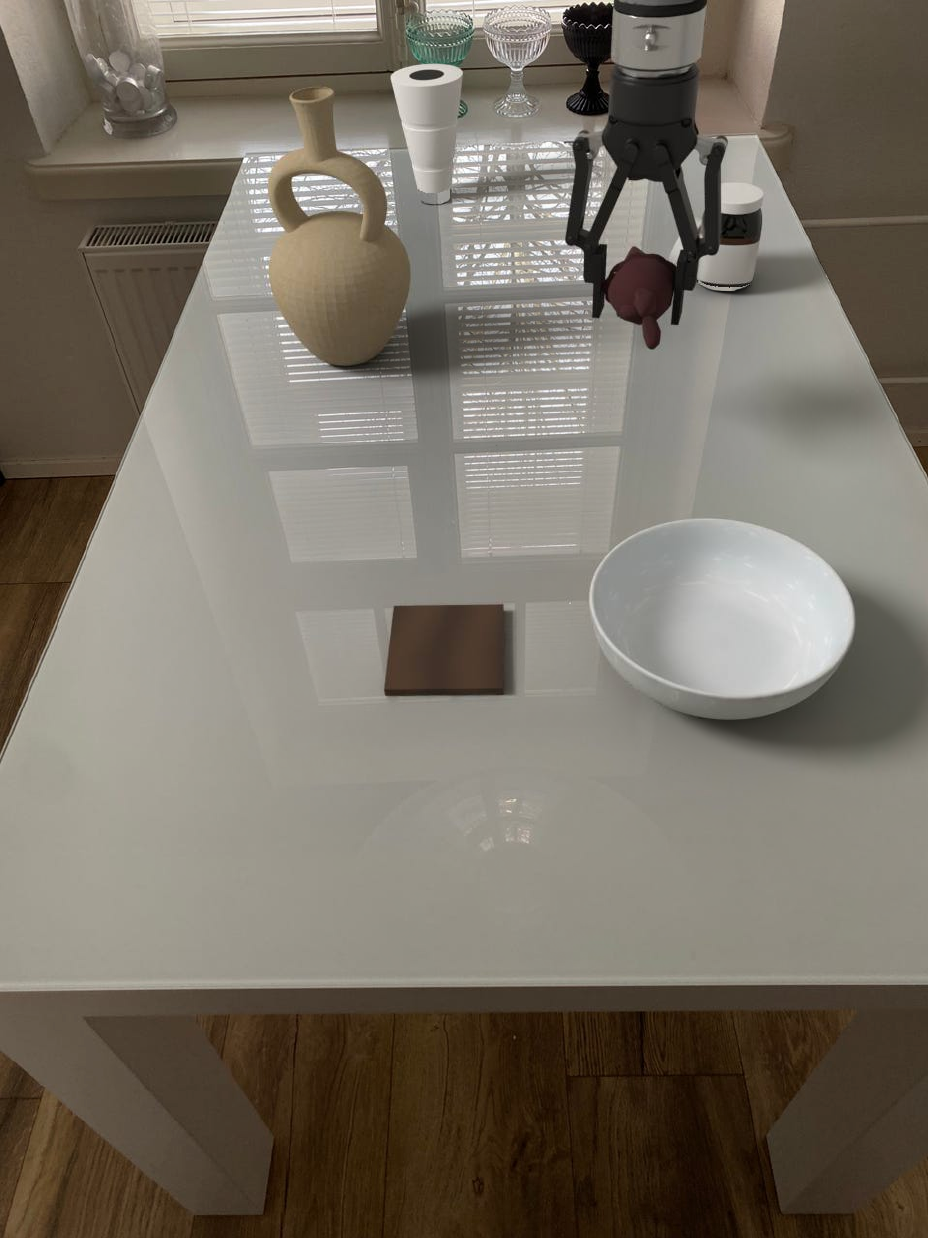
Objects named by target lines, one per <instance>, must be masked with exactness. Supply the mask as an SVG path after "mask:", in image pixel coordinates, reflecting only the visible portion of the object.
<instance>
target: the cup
mask: <svg viewBox="0 0 928 1238" xmlns="http://www.w3.org/2000/svg"><path fill="white" fill-rule="evenodd" d="M463 76H464V72H463V70H462V69H461V68H460V67H458V66H454V65H450V64H445V63H422V64H415V65H410V66H405V67H402V68H400V69H398V70H396V71H394V72H393V73H391V75H390V82H391V85H392V90H393V94H394V98H395V101H396V106H397V111H398V114H399V118H400V120H401V127H402V130H403V134H404V138H405V142H406V146H407V150H408V154H409V158H410V161H411V166H412V171H413V175H414V180H415V183H416V187H417V190H418V189H419V190H420V191H423V192H425V193H440V192H443V191H445V190H448V189H449V188H450V187H451V188H452V186H451V185H452V184H453V173H454V164H455V163H454V159H455V153H456V143H457V136H458V135H457V134H458V133H457V132H458V125H459V114H460V105H461V96H462V86H463Z"/></svg>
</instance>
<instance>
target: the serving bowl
mask: <svg viewBox="0 0 928 1238" xmlns="http://www.w3.org/2000/svg"><path fill="white" fill-rule="evenodd" d="M853 601H854V600H853V599H852V596H851V593H850V591H849V589H848V587H847V585H846V584H845V582H844V580H843V579H842V577H841V576H840V575H839V573H838V572H837V571H836V570H835V569H834V568H833V567H832V565H831V564H829V562H827V561H826V560H825V559H824V558H823V557H822V556H821V555H820V554H818V553H817V552H815V551H814V549H811V548H810V547H809V546H807V545H806V544H803V543H801V542H800V541H798V540H797V539H794V538H792V537H790V536H788V535H786V534H783V533H782V532H779V531H777V530H774V529H771V528H769V527H766V526H762V525H758V524H755V523H751V522H747V521H742V520H734V519H728V518H727V519H726V518H717V517H716V518H713V517H711V518H710V517H706V518H705V517H704V518H701V517H700V518H699V517H698V518H687V519H679V520H673V521H668V522H663V523H660V524H656V525H653V526H650V527H647V528H645V529H642V530H639V531H638V532H636V533H634V534H633V535H631V536H628V537H627V538H626V539H624V540H623V541H621V542H620V543H618V544H617V545H616V546H614V547H613V548H612V549H611V550H610V551H609V552H608V553H607V554H606V556H605V557H604V558H603V559H602V560H601V562H600V563H599V565H598V567H597V568H596V570H595V572H594V574H593V576H592V579H591V582H590V587H589V594H588V605H589V607H588V608H589V614H590V621H591V624H592V628H593V633H594V635H595V637H596V640H597V643H598V645H599V647H600V649H601V651H602V653H603V654H604V656H605V658H606V659H607V661H608V663H609V664H610V665H611V666H612V667H613V669H614V671H615V672H617V673H618V675H619V676H620V677H621V678H622V679H623V680H624V681H626V682H627V683H628V684H629V685H630V686H632V688H634V689H635V690H636V691H637V692H639V693H641V694H642V695H644V696H645V697H647V698H649V699H650V700H652V701H654V702H656V703H657V704H660V705H661V706H664V707H666V708H667V709H668V708H669V709H672V710H674V711H677V712H680V713H683V714H686V715H690V716H694V717H698V718H699V717H700V718H704V719H712V720H713V719H714V720H745V719H753V718H759V717H764V716H768V715H769V716H770V715H772V714H775V713H778V712H781V711H784V710H786V709H788V708H791V707H793V706H795V705H797V704H799V703H801V702H803V701H804V700H805V699H807V698H809V697H810V696H811V695H813V694H814V693H816V692H817V691H818V690H820V688H821V687H823V686H824V685H825V684H826V683H827V681H829V679H830V678H831V677H832V676H833V675H834V674H835V672H836V671H837V670H838V668H839V667H840V665H841V664H842V662H843V660H844V659H845V657H846V655H847V654H848V652H849V650H850V648H851V646H852V643H853V640H854V636H855V631H856V621H857V620H856V610H855V605H854V602H853Z"/></svg>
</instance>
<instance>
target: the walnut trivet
mask: <svg viewBox="0 0 928 1238" xmlns="http://www.w3.org/2000/svg"><path fill="white" fill-rule="evenodd" d="M504 605H505V604H503V603H494V604H491V603H490V604H489V603H488V604H486V603H485V604H483V603H482V604H428V605H427V604H425V605H424V604H422V605H421V604H419V605H418V604H417V605H393V609H392V618H391V626H390V635H389V643H388V650H387V652H388V653H387V660H386V668H385V669H386V670H385V677H384V685H383V686H384V687H383V691H384V692H383V693H384V696H449V695H450V696H451V695H452V696H453V695H454V696H455V695H456V696H457V695H458V696H459V695H460V696H461V695H464V696H465V695H467V696H468V695H504V694H505V692H504V691H505V690H504V689H505V688H504V684H505V683H504V682H505V678H504V677H505V676H504V675H505V674H504V673H505V671H504V669H505V667H504V665H505V664H504V663H505V662H504V661H505V660H504V659H505V657H504V656H505V655H504V654H505V653H504V651H505V650H504V649H505V646H504V645H505V639H504V637H505V636H504V634H505V633H504V632H505V631H504V630H505V627H504V626H505V620H504V619H505V617H504V615H505V610H504V608H505V607H504Z"/></svg>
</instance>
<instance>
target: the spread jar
mask: <svg viewBox="0 0 928 1238" xmlns="http://www.w3.org/2000/svg"><path fill="white" fill-rule="evenodd" d="M764 194H765V193H764V191H763V190H762V189H761V188H760V187H759V186H756V185H755V184H751V183H746V182H738V181H737V182H736V181H734V182H733V181H731V182H723V183H721V242H720V246H719V250H718V252H717V254H716V255H713V256H710V255H706V256H703V257H701V258H700V259H699V266H698V274H697V277H698V279H699V280H700V281H701V282H702V283H704V284H706V285H710V286H715V287H716V286H718V287H729V288H730V287H743V286H746V285H748V284H750V283H751V284H752V282H753V279H754V276H755V275H754V274H755V270H756V266H757V260H758V253H759V248H760V241H761V236H762V231H763V230H762V228H763V212H762V208H761V207H762V206H763V202H764V196H765V195H764ZM694 218H695V222H696V226H697V229H698V233H699V236H700V238H703V237H705V209H703V213H702V217H701V218H700V217H698V216H694ZM681 249H682V250H683V247H682V243H681V240H680V236H679V235H678V238H677V240H676V241H675V244H674V246H673V247H672V249H671V251H670V254H669V257H668V261H670V262H672V263H675V264H677V260H678V257H679V254H680V250H681ZM751 281H752V282H751ZM751 284H750V285H751Z"/></svg>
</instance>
